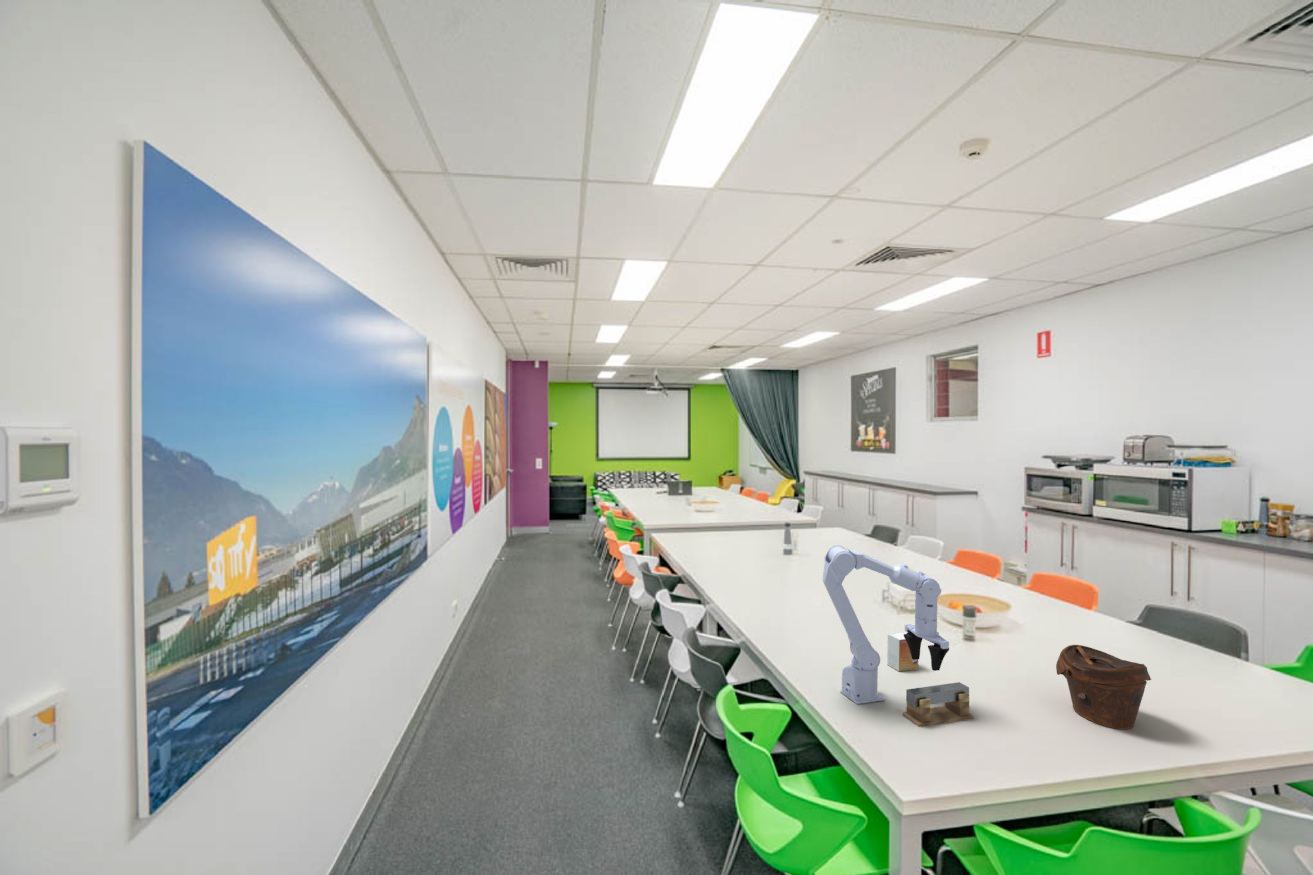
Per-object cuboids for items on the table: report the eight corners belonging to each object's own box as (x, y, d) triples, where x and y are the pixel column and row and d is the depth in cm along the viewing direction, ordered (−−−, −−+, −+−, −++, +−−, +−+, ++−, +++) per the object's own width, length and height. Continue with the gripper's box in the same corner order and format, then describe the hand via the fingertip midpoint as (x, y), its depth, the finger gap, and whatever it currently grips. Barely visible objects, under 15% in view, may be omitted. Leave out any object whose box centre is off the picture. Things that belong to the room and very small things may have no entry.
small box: (898, 671, 170) (899, 639, 170) (886, 664, 175) (887, 633, 175) (918, 669, 172) (919, 637, 172) (906, 662, 177) (906, 631, 177)
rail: (915, 707, 138) (915, 694, 138) (906, 701, 141) (906, 689, 141) (969, 698, 143) (969, 687, 143) (959, 693, 146) (959, 682, 146)
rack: (918, 726, 136) (919, 702, 137) (902, 715, 142) (902, 691, 142) (973, 718, 141) (973, 694, 141) (955, 707, 147) (955, 684, 147)
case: (1056, 692, 157) (1057, 633, 157) (1147, 715, 144) (1148, 651, 144) (1054, 716, 143) (1055, 652, 143) (1154, 744, 131) (1155, 673, 130)
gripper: (957, 624, 145) (957, 673, 145) (918, 608, 159) (917, 653, 159) (937, 626, 143) (936, 676, 143) (899, 610, 157) (898, 655, 157)
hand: (925, 664), depth 151 cm, fingers open, 7 cm apart
